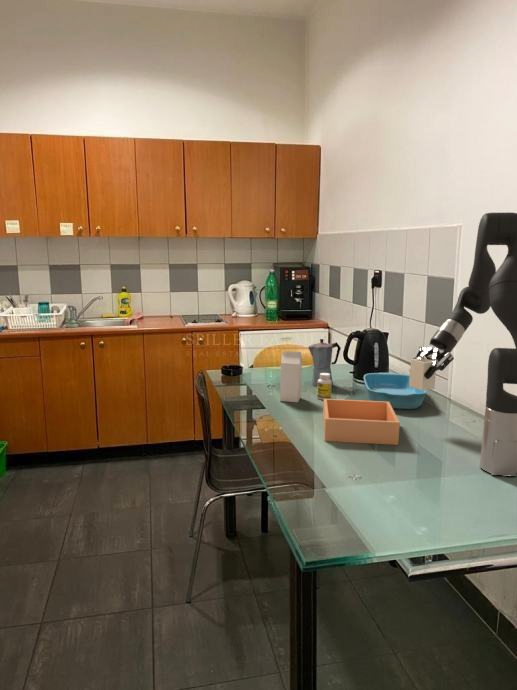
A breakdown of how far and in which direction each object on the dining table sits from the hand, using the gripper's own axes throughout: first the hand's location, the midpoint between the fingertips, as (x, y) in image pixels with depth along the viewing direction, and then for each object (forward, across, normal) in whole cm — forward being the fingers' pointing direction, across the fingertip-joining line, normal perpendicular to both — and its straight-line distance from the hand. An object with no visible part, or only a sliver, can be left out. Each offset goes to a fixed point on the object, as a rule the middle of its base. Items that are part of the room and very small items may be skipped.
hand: (418, 375), depth 172 cm
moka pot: (+8, -59, +17) cm, 62 cm away
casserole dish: (0, -30, +26) cm, 40 cm away
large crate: (+26, -7, 0) cm, 26 cm away
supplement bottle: (+17, -42, +9) cm, 46 cm away
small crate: (+2, 0, +4) cm, 5 cm away
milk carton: (+26, -46, 0) cm, 53 cm away
